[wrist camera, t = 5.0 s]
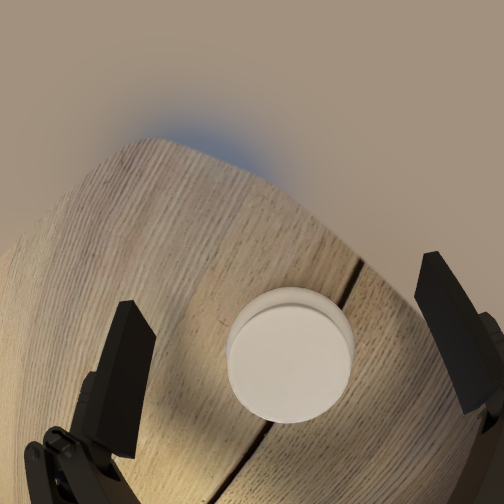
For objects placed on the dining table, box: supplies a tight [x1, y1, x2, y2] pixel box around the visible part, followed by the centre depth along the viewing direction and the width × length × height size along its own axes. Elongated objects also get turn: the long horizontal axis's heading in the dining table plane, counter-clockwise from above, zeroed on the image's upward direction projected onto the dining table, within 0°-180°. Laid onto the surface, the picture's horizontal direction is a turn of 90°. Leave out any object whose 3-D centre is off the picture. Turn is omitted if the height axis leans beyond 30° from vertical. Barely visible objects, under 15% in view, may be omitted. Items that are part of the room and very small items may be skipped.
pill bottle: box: [226, 287, 355, 423], centre depth 13 cm, size 5×5×9 cm
